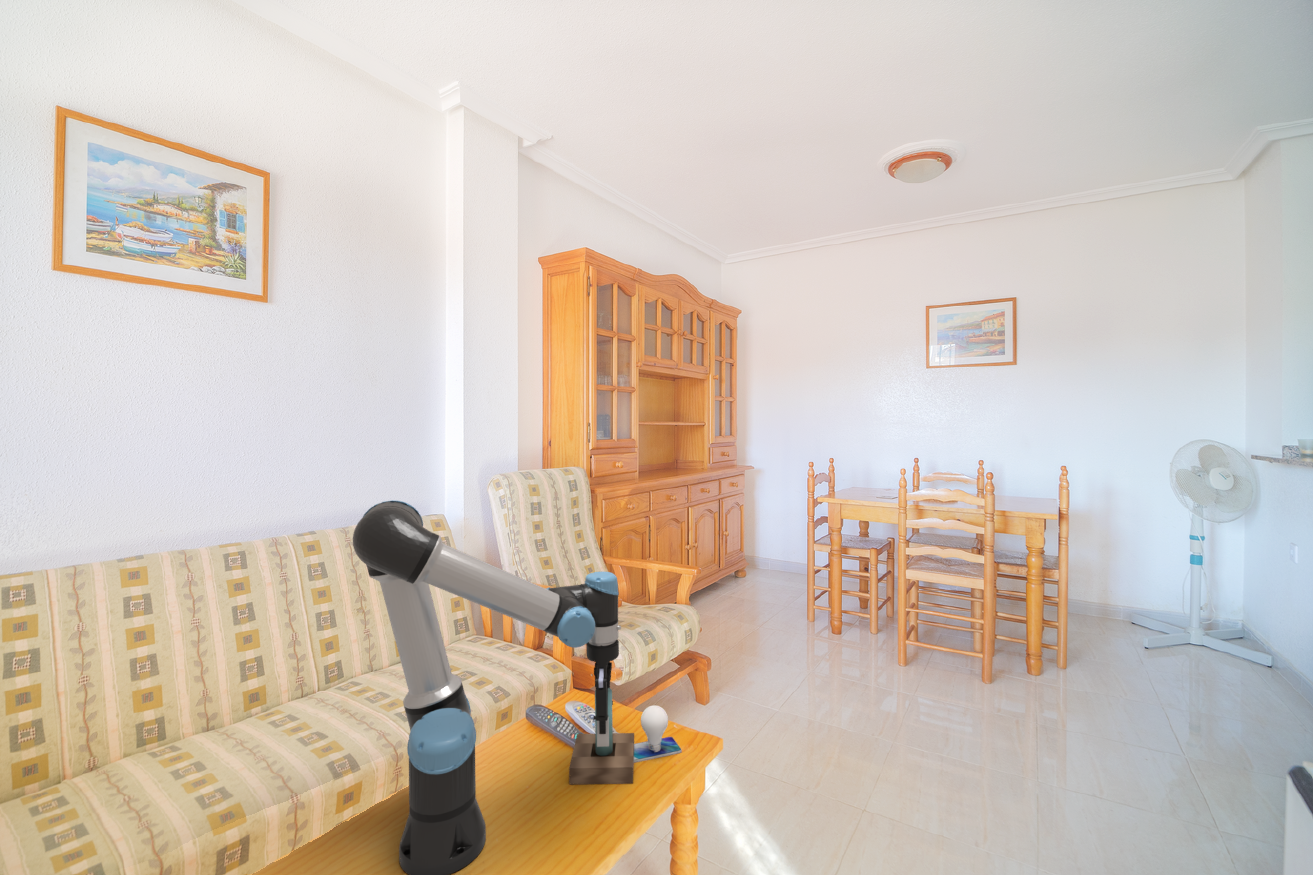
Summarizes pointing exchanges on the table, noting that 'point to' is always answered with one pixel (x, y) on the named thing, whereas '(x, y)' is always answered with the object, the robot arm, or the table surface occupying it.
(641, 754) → the smartphone
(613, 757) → the socket block
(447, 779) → the robot arm
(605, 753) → the peg
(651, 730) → the light bulb
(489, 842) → the table surface
